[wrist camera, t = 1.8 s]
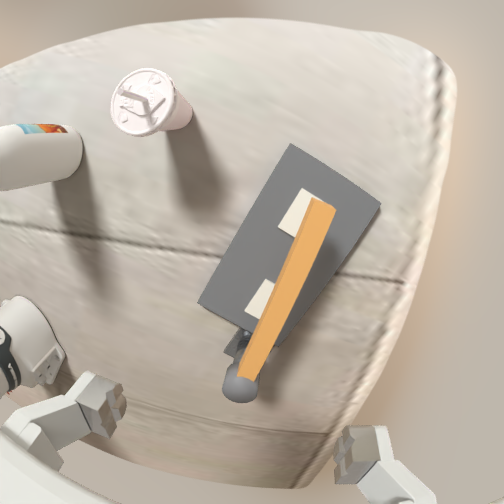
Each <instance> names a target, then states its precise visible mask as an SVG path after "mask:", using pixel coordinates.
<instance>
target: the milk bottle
mask: <svg viewBox="0 0 504 504" xmlns="http://www.w3.org/2000/svg"><path fill="white" fill-rule="evenodd" d="M82 153H83V145H82V140H81V137H80V135H79V133H78V132H77V130H75V129H74V128H73V127H71V126H68V125H54V124H16V125H7V126H2V127H0V191H8V190H13V189H19V188H23V187H28V186H33V185H37V184H42V183H47V182H52V181H57V180H61V179H65V178H68V177H70V176H71V175H72V174H73V173H74V172H75V171H76V170H77V168H78V167H79V164H80V162H81V159H82Z"/></svg>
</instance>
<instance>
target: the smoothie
mask: <svg viewBox="0 0 504 504" xmlns="http://www.w3.org/2000/svg"><path fill="white" fill-rule="evenodd" d="M192 114H193V111H192V107H191V105H190V104H189V103H188V102H187V100H186V99H185V98H184V97H183V96H182V95H181V94H180V93H179V91H178V90H177V89H176V86H175V83H174V82H173V80H172V79H171V78H170V76H168V75H167V74H165V73H164V72H162V71H159V70H157V69H153V68H143V69H139V70H136V71H134V72H132V73H130V74H129V75H127V76H126V77H125V78H124V79H123V80H122V81H121V82H120V83H119V85H118V86H117V88H116V89H115V91H114V94H113V96H112V100H111V116H112V119H113V122H114V123H115V125H116V126H117V128H118V129H119V130H121V131H122V132H124V133H126V134H128V135H132V136H138V137H144V136H148V135H152V134H154V133H156V132H158V131H166V130H175V129H181V128H183V127H185V126H186V125H187V124H188V123H189V122H190V120H191V118H192Z"/></svg>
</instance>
